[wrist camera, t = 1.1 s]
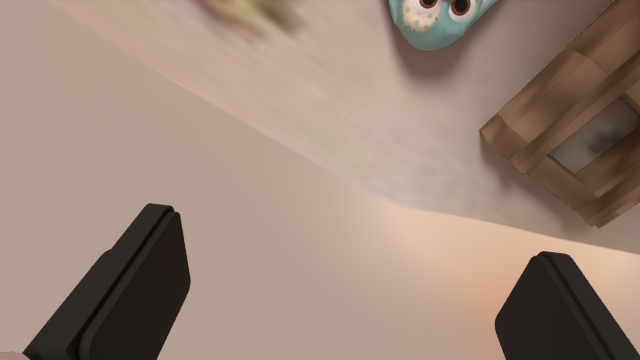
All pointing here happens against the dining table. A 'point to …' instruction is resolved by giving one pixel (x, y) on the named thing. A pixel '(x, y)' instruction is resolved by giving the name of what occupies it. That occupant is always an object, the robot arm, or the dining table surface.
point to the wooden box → (579, 117)
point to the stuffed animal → (436, 20)
